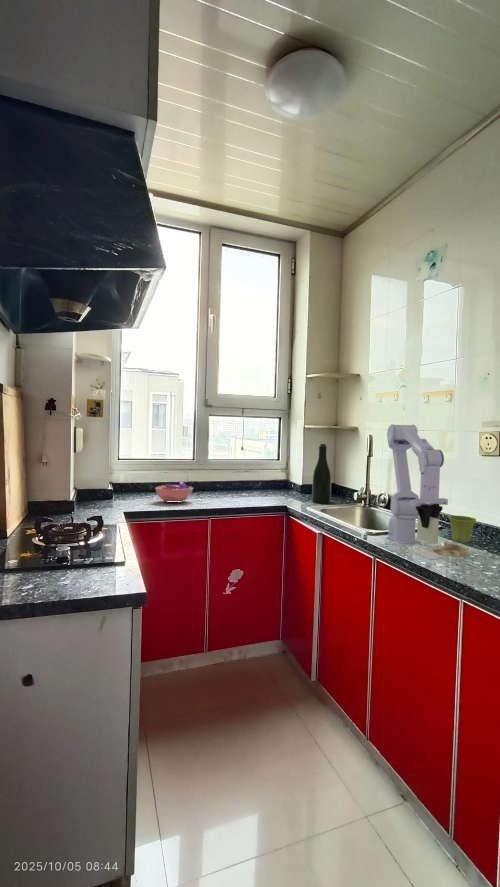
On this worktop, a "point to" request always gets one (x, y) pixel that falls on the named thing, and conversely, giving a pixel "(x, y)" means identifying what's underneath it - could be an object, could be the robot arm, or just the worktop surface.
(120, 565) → the worktop surface
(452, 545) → the rack
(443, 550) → the offcut upper
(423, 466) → the robot arm
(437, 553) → the offcut lower
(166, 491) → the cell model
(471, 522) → the plant pot
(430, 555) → the mat
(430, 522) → the block
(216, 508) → the worktop surface
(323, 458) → the beer bottle
